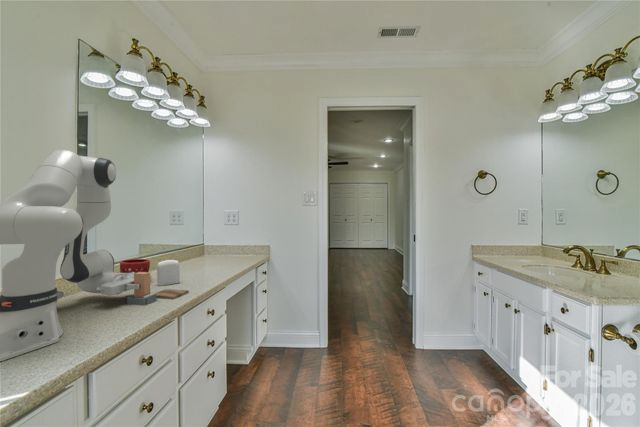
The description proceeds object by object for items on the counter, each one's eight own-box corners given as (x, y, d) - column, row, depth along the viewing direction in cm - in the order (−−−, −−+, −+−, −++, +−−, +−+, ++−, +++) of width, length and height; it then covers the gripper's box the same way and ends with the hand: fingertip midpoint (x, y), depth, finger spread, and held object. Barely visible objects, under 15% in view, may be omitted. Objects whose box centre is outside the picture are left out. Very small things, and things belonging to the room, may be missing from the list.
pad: (173, 299, 125) (173, 296, 125) (149, 297, 128) (149, 295, 128) (188, 292, 135) (188, 290, 135) (165, 291, 138) (165, 289, 138)
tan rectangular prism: (144, 303, 120) (144, 274, 119) (134, 302, 121) (133, 273, 120) (150, 301, 123) (150, 272, 122) (140, 300, 124) (139, 271, 123)
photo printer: (157, 286, 146) (157, 261, 146) (156, 284, 150) (156, 260, 149) (180, 283, 152) (180, 259, 152) (178, 281, 156) (178, 258, 156)
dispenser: (145, 305, 117) (145, 296, 117) (126, 303, 119) (126, 295, 119) (157, 300, 124) (157, 291, 124) (139, 299, 126) (139, 290, 126)
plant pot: (127, 288, 144) (127, 263, 143) (115, 284, 151) (115, 261, 151) (154, 282, 154) (154, 259, 154) (142, 279, 162) (141, 257, 162)
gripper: (91, 281, 114) (122, 283, 111) (135, 271, 134) (161, 272, 131) (92, 298, 114) (122, 300, 111) (135, 285, 134) (161, 286, 131)
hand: (144, 285), depth 121 cm, fingers closed on tan rectangular prism, 3 cm apart
